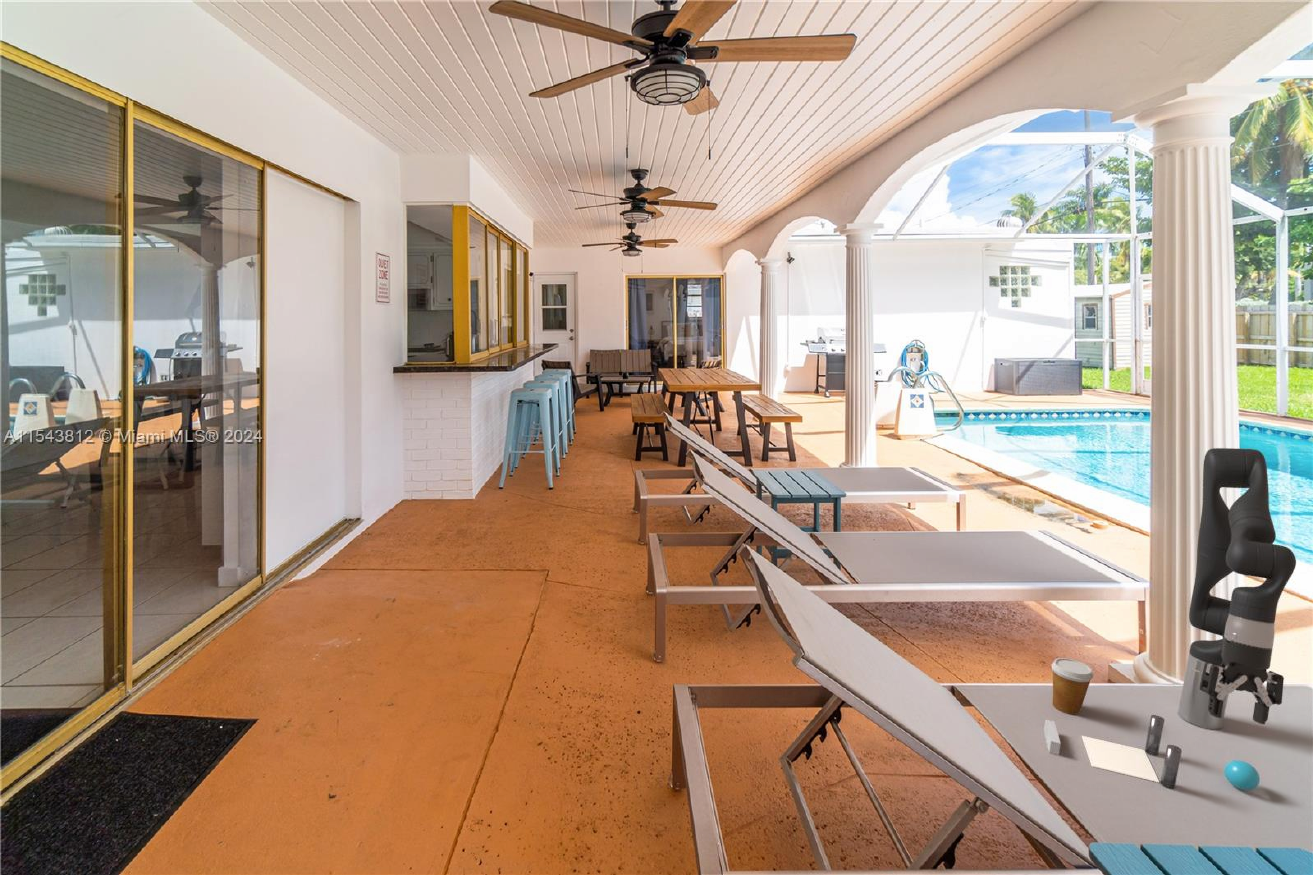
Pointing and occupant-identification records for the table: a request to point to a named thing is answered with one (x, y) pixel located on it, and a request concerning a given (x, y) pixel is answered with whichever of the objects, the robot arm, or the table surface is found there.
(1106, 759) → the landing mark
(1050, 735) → the wall
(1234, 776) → the ball
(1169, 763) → the post
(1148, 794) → the table surface
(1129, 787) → the table surface
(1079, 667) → the disposable coffee cup
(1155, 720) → the post
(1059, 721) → the table surface
